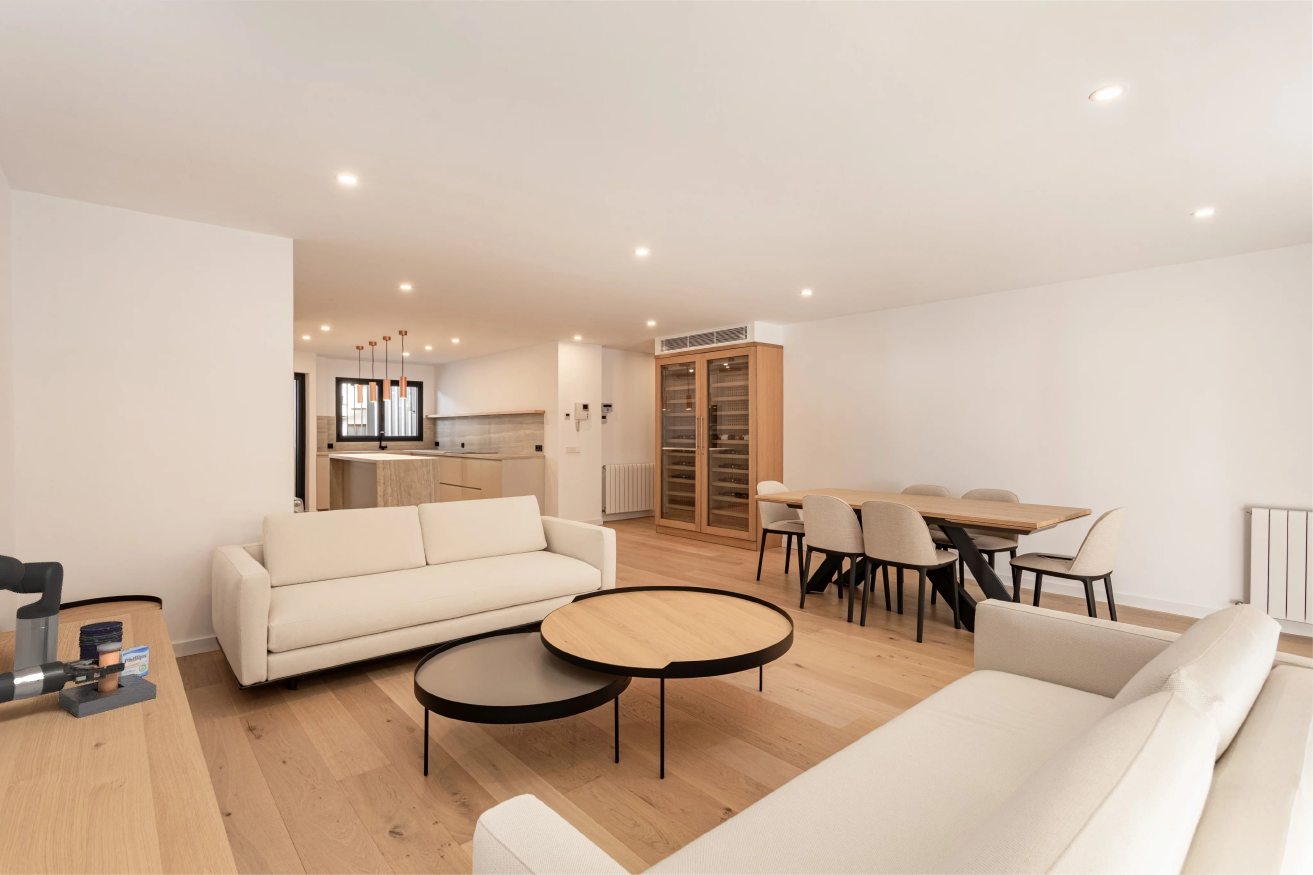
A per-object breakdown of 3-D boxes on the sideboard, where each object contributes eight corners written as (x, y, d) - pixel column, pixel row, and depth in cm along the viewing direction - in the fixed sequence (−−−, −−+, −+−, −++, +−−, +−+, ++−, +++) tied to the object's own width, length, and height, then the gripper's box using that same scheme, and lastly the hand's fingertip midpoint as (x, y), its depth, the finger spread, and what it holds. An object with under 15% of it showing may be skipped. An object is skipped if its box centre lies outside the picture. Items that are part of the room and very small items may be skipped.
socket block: (58, 703, 165) (58, 690, 165) (133, 685, 179) (133, 673, 179) (78, 717, 157) (79, 703, 157) (155, 697, 170) (156, 684, 170)
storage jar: (69, 678, 184) (71, 627, 184) (109, 668, 193) (111, 619, 193) (89, 683, 180) (91, 631, 180) (128, 672, 189) (130, 623, 189)
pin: (91, 701, 167) (94, 645, 167) (115, 695, 171) (118, 640, 172) (98, 706, 164) (100, 648, 164) (123, 699, 168) (125, 644, 169)
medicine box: (121, 683, 180) (122, 653, 180) (108, 682, 181) (110, 652, 181) (148, 674, 188) (149, 645, 188) (136, 673, 189) (137, 644, 189)
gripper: (46, 671, 152) (129, 654, 166) (28, 660, 160) (109, 644, 173) (44, 702, 152) (127, 682, 166) (27, 689, 160) (108, 671, 173)
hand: (118, 663), depth 170 cm, fingers open, 8 cm apart
